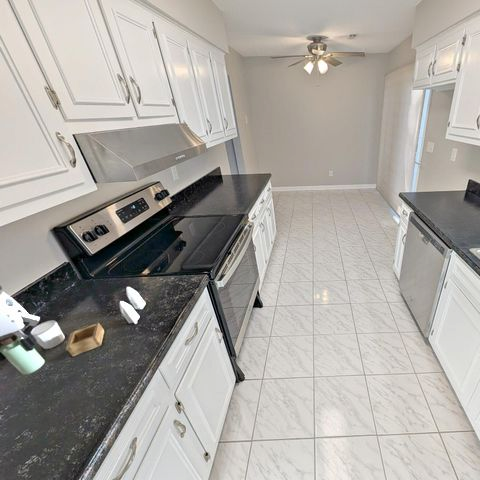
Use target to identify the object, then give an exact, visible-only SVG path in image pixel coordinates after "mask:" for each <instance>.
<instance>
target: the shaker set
mask: <svg viewBox="0 0 480 480" xmlns="http://www.w3.org/2000/svg"><path fill="white" fill-rule="evenodd" d="M125 291H126V297H127V298H128V300H129V302H130V303H131V304H132V305H131V304H129V303H127V302H125V301H124V300H120V301H119V303H118V304H119V310H120V313H121V314H122V316H123V317H124V319H125V320H126V321H127V323H128V324H134V325H136V324H138V320H139V319H140V318H141V317H140V314H138V313H137V311H136V310H143V309H144V307H145V306H146V301H145V300H144V299H143V297H142V296H141V295H140V293H139V292H138V291H137V290H135V289H134V288H132V287H131V286H126V288H125Z"/></svg>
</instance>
